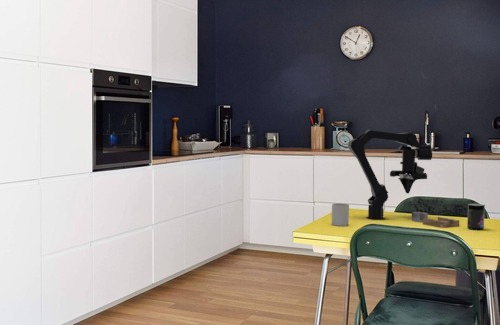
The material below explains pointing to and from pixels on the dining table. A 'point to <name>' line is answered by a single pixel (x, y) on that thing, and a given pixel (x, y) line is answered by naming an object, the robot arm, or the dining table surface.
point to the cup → (340, 214)
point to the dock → (441, 222)
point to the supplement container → (475, 216)
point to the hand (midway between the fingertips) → (407, 193)
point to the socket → (419, 216)
